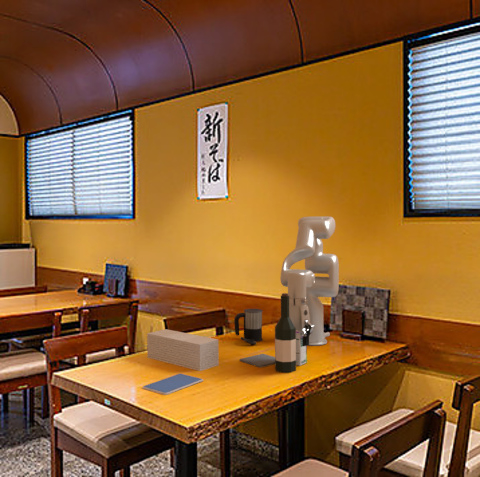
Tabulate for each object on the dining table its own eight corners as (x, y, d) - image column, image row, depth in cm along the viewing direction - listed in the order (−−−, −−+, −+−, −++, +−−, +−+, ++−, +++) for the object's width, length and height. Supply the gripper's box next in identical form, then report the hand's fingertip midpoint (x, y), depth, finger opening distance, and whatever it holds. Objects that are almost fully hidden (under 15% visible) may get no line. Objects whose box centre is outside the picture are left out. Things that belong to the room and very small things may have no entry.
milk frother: (257, 337, 260) (257, 307, 259) (272, 344, 246) (272, 312, 245) (231, 340, 254) (231, 310, 254) (244, 347, 240) (244, 315, 239)
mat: (262, 355, 225) (262, 353, 225) (283, 361, 215) (283, 359, 215) (239, 360, 217) (239, 358, 217) (260, 367, 207) (260, 365, 207)
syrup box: (300, 366, 208) (300, 330, 208) (287, 364, 212) (287, 328, 211) (307, 362, 213) (306, 327, 212) (294, 360, 216) (294, 326, 216)
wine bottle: (298, 367, 206) (297, 292, 205) (293, 373, 198) (292, 295, 197) (277, 365, 209) (277, 291, 208) (272, 371, 201) (271, 294, 200)
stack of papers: (147, 358, 224) (147, 333, 223) (166, 353, 232) (165, 329, 231) (200, 371, 203) (199, 344, 203) (218, 365, 211) (218, 339, 211)
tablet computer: (165, 397, 175) (165, 393, 175) (140, 389, 183) (140, 385, 183) (204, 382, 190) (204, 378, 190) (180, 376, 198) (179, 372, 198)
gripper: (319, 303, 207) (319, 346, 207) (288, 298, 220) (288, 339, 220) (306, 305, 202) (306, 348, 202) (275, 300, 215) (275, 341, 216)
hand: (297, 343), depth 211 cm, fingers open, 9 cm apart
